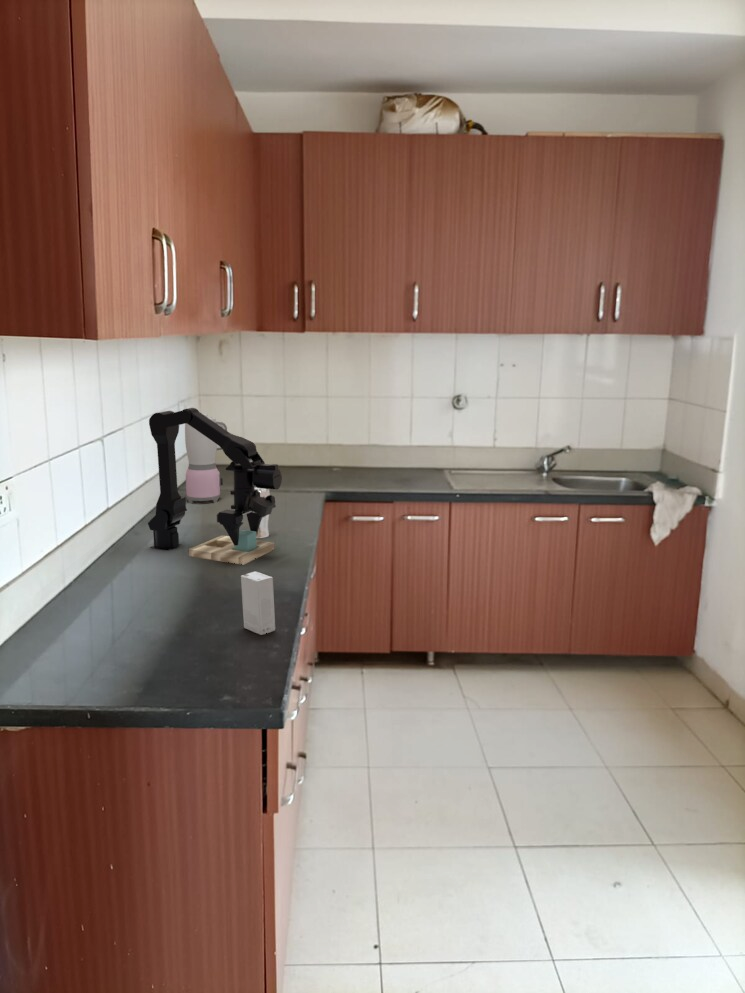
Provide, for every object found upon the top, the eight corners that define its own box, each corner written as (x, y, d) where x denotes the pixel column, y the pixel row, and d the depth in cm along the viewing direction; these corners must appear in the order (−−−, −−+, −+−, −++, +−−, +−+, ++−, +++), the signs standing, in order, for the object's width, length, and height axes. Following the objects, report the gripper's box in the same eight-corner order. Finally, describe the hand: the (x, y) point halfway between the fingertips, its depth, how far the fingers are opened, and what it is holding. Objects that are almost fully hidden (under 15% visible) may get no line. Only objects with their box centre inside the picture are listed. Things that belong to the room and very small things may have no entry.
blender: (186, 505, 272) (182, 416, 264) (185, 497, 283) (181, 412, 276) (231, 502, 276) (228, 415, 269) (227, 495, 287) (225, 412, 280)
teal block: (234, 555, 211) (233, 533, 209) (243, 551, 215) (242, 529, 213) (248, 557, 209) (247, 535, 207) (256, 553, 213) (256, 531, 211)
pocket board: (189, 557, 210) (188, 549, 209) (222, 543, 224) (222, 535, 224) (243, 566, 203) (243, 557, 202) (274, 551, 217) (274, 542, 217)
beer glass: (249, 540, 228) (248, 492, 224) (246, 534, 234) (245, 487, 231) (272, 539, 229) (271, 491, 226) (269, 533, 236) (268, 486, 233)
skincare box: (276, 630, 161) (275, 576, 158) (259, 636, 157) (258, 581, 155) (258, 622, 165) (256, 570, 162) (241, 628, 162) (240, 574, 159)
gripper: (250, 496, 196) (251, 553, 199) (286, 483, 213) (287, 536, 216) (214, 492, 200) (216, 548, 204) (253, 479, 217) (254, 531, 220)
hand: (245, 541), depth 211 cm, fingers open, 9 cm apart
